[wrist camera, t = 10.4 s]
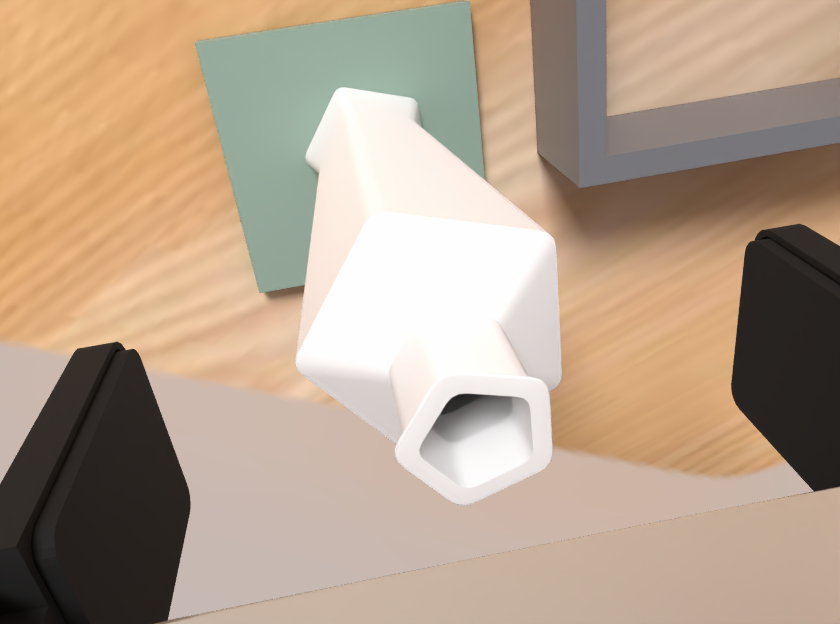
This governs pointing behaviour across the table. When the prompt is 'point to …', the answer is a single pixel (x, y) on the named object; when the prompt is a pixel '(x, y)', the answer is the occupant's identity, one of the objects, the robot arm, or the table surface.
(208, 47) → the mat
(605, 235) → the table surface
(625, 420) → the table surface
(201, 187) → the table surface
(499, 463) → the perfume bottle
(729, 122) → the bin
